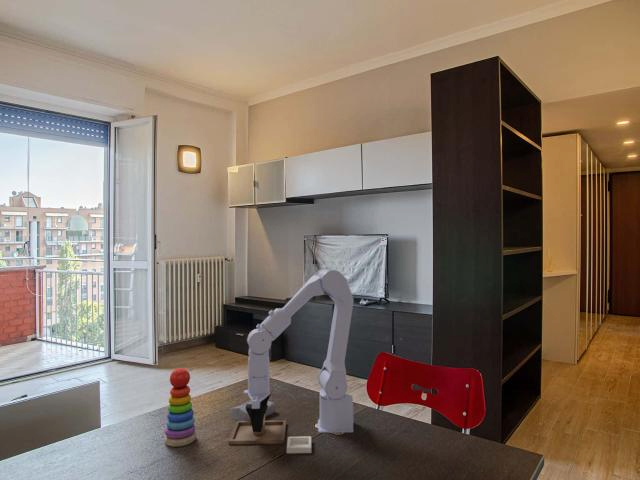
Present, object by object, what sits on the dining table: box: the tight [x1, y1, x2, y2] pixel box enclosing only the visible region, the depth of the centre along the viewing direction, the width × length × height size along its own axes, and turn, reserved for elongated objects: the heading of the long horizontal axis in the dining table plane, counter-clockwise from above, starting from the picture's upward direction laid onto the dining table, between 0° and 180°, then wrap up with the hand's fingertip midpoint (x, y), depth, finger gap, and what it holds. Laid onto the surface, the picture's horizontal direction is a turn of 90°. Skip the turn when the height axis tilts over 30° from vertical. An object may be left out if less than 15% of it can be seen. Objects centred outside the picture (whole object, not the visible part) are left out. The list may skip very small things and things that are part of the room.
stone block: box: [229, 399, 277, 421], centre depth 129 cm, size 12×5×10 cm
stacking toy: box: [164, 367, 197, 448], centre depth 112 cm, size 8×8×19 cm
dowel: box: [253, 415, 266, 436], centre depth 116 cm, size 3×3×6 cm
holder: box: [286, 435, 312, 454], centre depth 108 cm, size 6×6×2 cm
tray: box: [228, 419, 287, 446], centre depth 116 cm, size 14×12×1 cm
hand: (259, 425), depth 116 cm, fingers open, 7 cm apart
